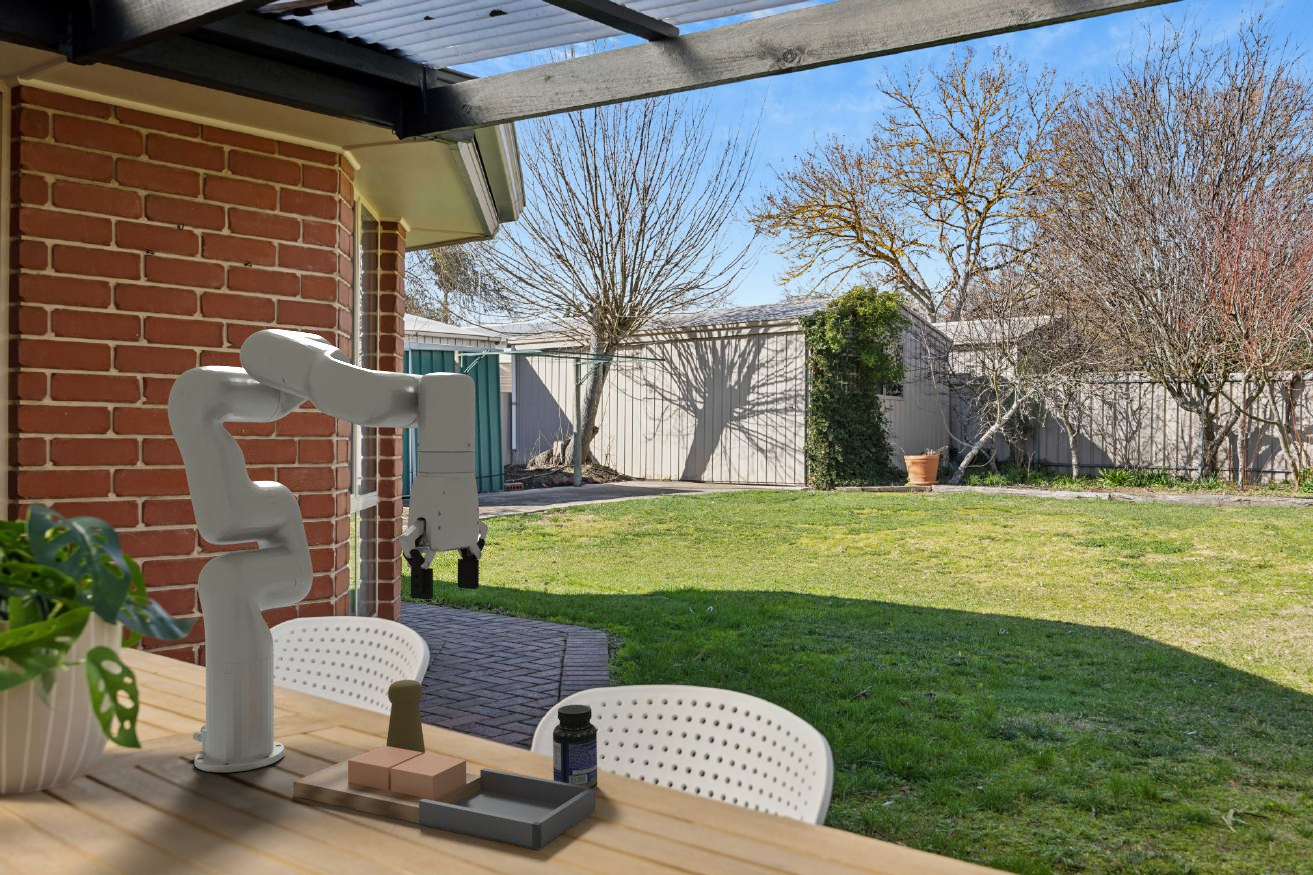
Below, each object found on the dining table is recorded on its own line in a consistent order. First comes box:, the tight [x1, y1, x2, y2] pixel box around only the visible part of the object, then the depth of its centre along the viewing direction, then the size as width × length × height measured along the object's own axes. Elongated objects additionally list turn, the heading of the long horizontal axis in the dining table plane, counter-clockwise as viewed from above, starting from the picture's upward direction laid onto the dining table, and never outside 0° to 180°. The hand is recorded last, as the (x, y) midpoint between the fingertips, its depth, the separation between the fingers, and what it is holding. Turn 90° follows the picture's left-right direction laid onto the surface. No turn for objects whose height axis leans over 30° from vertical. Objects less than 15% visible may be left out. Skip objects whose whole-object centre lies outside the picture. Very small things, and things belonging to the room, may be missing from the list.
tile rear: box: [348, 745, 424, 790], centre depth 134 cm, size 7×7×3 cm
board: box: [292, 753, 480, 824], centre depth 134 cm, size 22×13×2 cm, turn 64°
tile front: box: [391, 752, 467, 799], centre depth 131 cm, size 7×7×3 cm
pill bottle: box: [552, 704, 598, 789], centre depth 136 cm, size 6×6×11 cm
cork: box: [385, 679, 426, 754], centre depth 152 cm, size 6×6×11 cm
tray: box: [418, 767, 596, 851], centre depth 125 cm, size 18×14×3 cm
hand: (445, 593), depth 130 cm, fingers open, 9 cm apart
